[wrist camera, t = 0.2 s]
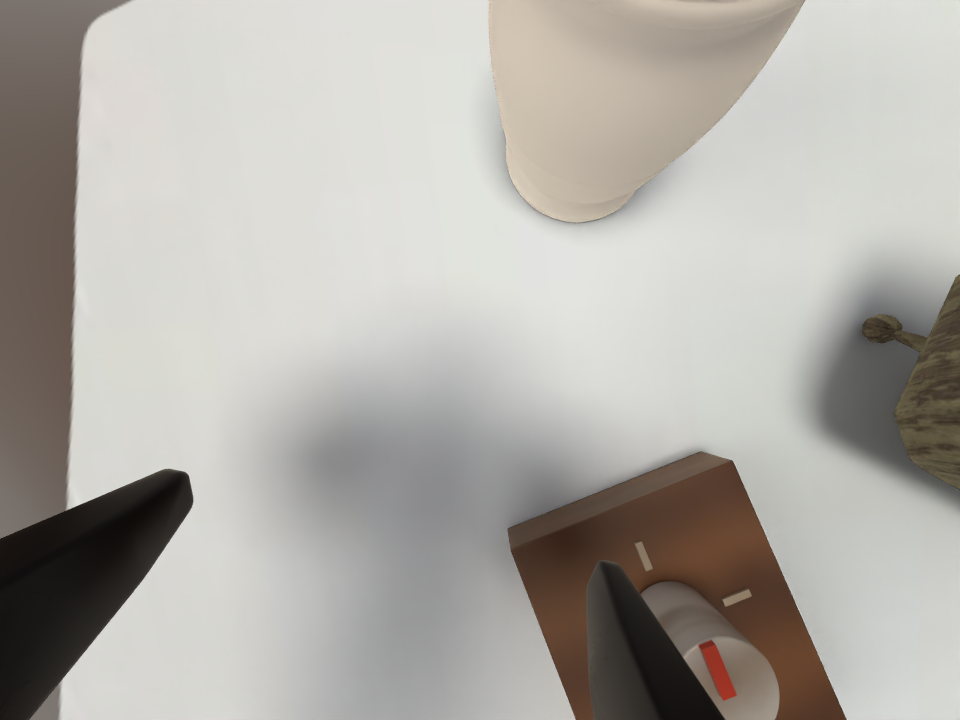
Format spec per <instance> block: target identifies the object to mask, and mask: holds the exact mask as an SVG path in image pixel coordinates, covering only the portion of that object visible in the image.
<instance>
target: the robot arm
mask: <svg viewBox="0 0 960 720" xmlns="http://www.w3.org/2000/svg"><path fill="white" fill-rule="evenodd" d="M192 505H193V494H192V489H191V484H190V479H189V475H188V474H187V473H186V472H183V471H178V470H173V469H164V470H161V471H159V472H156V473H154V474H152V475H149V476H147V477H145V478H142V479H140V480H138V481H135V482H133V483H130V484H128V485H126V486H123V487H121V488H119V489H116V490H114V491H112V492H109V493H107V494H105V495H102V496H100V497H97V498H95V499H93V500H90V501H88V502H86V503H83V504H81V505H79V506H76V507H74V508H72V509H69V510H67V511H64V512H62V513H60V514H57V515H55V516H53V517H51V518H48V519H46V520H43V521H41V522H39V523H36V524H34V525H31V526H29V527H27V528H25V529H22V530H20V531H17V532H15V533H13V534H10V535H8V536H6V537H3V538H1V539H0V720H30V718H31V717H32V716H33V715H34V714H35V712H36V711H37V710H38V709H39V707H40V706H41V705H42V704H43V702H44V701H45V700H46V699H47V697H48V696H49V695H50V694H51V693H52V691H53V690H54V689H55V688H56V686H57V685H58V684H59V683H60V682H61V680H62V679H63V678H64V677H65V675H66V674H67V673H68V672H69V670H70V669H71V668H72V667H73V666H74V664H75V663H76V662H77V661H78V659H79V658H80V657H81V656H82V654H83V653H84V652H85V651H86V650H87V648H88V647H89V646H90V645H91V643H92V642H93V641H94V640H95V638H96V637H97V636H98V635H99V633H100V632H101V631H102V630H103V629H104V627H105V626H106V625H107V624H108V622H109V621H110V620H111V619H112V617H113V616H114V615H115V614H116V613H117V611H118V610H119V609H120V608H121V606H122V605H123V604H124V603H125V601H126V600H127V599H128V598H129V597H130V595H131V594H132V593H133V592H134V590H135V589H136V588H137V586H138V585H139V584H140V583H141V581H142V580H143V579H144V577H145V576H146V575H147V573H148V572H149V570H150V569H151V568H152V566H153V565H154V563H155V562H156V560H157V559H158V557H159V556H160V554H161V553H162V551H163V550H164V548H165V547H166V545H167V544H168V542H169V541H170V539H171V538H172V536H173V535H174V534H175V532H176V531H177V529H178V528H179V526H180V525H181V523H182V522H183V520H184V519H185V517H186V516H187V514H188V513H189V511H190V510H191V507H192ZM586 612H587V647H588V673H589V684H590V693H591V701H592V709H593V717H594V720H726V719H725V718H724V717H723V715H722V714H721V712H720V711H719V709H718V708H717V706H716V705H715V703H714V702H713V700H712V699H711V697H710V696H709V695H708V693H707V692H706V690H705V689H704V687H703V686H702V684H701V683H700V681H699V680H698V678H697V677H696V675H695V674H694V673H693V671H692V670H691V668H690V667H689V665H688V664H687V662H686V661H685V659H684V658H683V656H682V655H681V653H680V652H679V650H678V649H677V648H676V646H675V645H674V643H673V642H672V640H671V639H670V637H669V636H668V634H667V633H666V631H665V630H664V628H663V627H662V626H661V624H660V623H659V621H658V620H657V618H656V617H655V615H654V614H653V612H652V611H651V609H650V608H649V606H648V605H647V604H646V602H645V601H644V599H643V598H642V596H641V595H640V593H639V592H638V590H637V589H636V587H635V586H634V584H633V583H632V582H631V580H630V579H629V577H628V576H627V574H626V573H625V571H624V570H623V568H622V567H621V566H620V565H619V564H618V563H615V562H610V561H605V560H600V561H598V563H597V564H596V566H595V569H594V571H593V573H592V575H591V577H590V579H589V581H588V584H587V588H586Z"/></svg>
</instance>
